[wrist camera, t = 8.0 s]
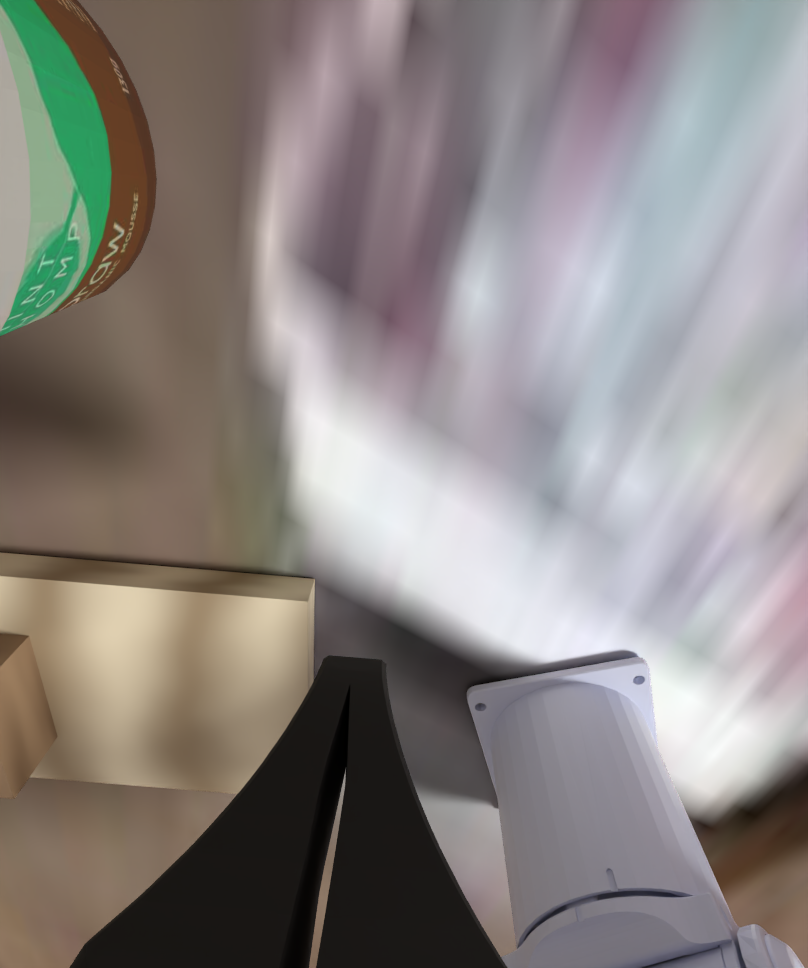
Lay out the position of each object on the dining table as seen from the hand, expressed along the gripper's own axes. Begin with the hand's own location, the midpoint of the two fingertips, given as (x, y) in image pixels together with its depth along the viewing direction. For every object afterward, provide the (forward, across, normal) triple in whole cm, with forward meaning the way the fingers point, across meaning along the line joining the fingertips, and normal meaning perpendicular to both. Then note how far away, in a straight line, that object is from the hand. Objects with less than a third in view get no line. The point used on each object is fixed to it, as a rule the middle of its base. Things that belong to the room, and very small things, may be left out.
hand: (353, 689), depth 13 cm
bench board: (+9, +14, +10) cm, 19 cm away
